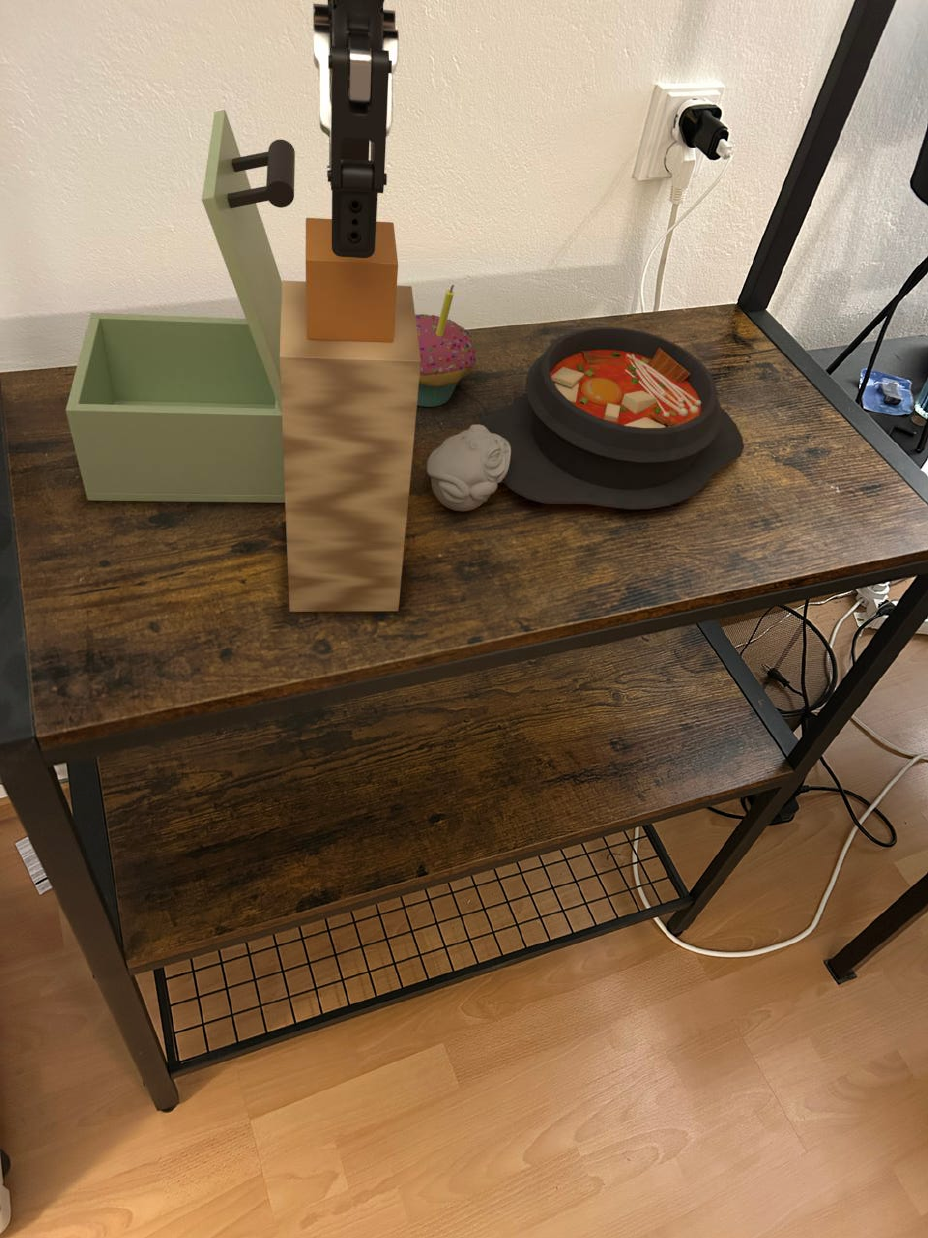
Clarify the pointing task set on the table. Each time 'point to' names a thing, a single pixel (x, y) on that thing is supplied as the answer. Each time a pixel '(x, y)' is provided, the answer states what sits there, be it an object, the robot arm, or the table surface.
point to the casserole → (615, 423)
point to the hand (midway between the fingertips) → (350, 213)
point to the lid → (250, 232)
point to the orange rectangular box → (350, 287)
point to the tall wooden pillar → (346, 459)
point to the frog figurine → (468, 468)
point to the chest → (175, 412)
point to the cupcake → (442, 355)
